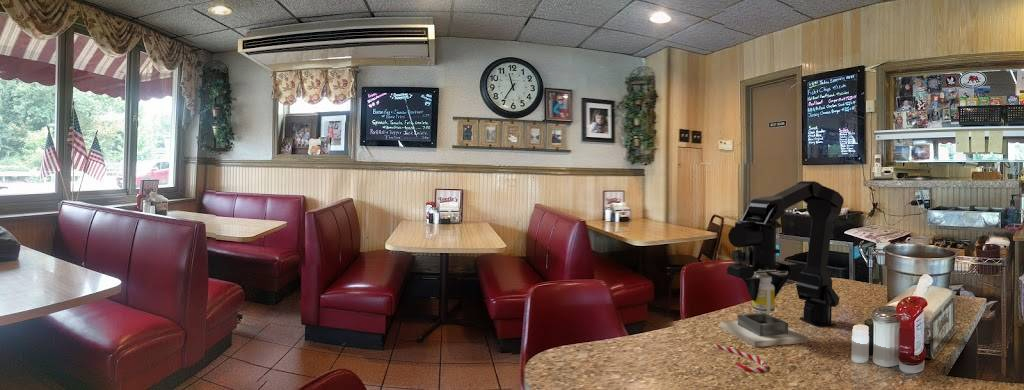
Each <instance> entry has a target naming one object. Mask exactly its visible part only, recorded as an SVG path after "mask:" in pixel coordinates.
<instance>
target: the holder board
mask: <svg viewBox="0 0 1024 390" xmlns="http://www.w3.org/2000/svg"><path fill="white" fill-rule="evenodd" d="M719 328H721V330H724V331H725V332H727V333H729V334H731V335H732V336H734V337H736V338H738V339H740V340H741V341H743V342H745V343H747V344H749V345H750V346H752V347H754V348H759V347H770V346H780V345H782V346H784V345H792V344H802V343H803V344H804V343H809V336H808V335H805V334H803V333H801V332H798V331H796V330H794V329H792V328H789V322H787V321H784V320H782V319H779V318H777V317H775V316H773V315H771V314H770V313H760V312H755V313H741V314H737V320H735V321H734V320H733V321H721V322H719Z"/></svg>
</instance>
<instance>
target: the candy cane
mask: <svg viewBox="0 0 1024 390" xmlns="http://www.w3.org/2000/svg"><path fill="white" fill-rule="evenodd" d="M712 348H714V349H717V350H719V351H720V350H721V351H724V352H728V353H729V354H730V353H731V354H734V355H735V356H737V355H738V356H741V357H743V358H745V359H749V360H751V361H753V362H756V363H757V364H759V365H760V367H751V366H746V365H743V364H741V363H736V364H735V367H736V368H738V369H739V370H742V371H745V372H748V373H755V374H762V373H766V372H767V371H768V370H769V365H768V364H767V362H765V361H764V360H763V359H761V358H759V357H758V356H754V355H753V354H750V353H746V352H744V351H741V350H737V349H735V348H731V347H728V346H724V345H720V344H716V343H713V344H712Z"/></svg>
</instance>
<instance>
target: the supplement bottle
mask: <svg viewBox="0 0 1024 390" xmlns="http://www.w3.org/2000/svg"><path fill="white" fill-rule="evenodd" d="M757 278H760V284H759V289H758V295H757V298H756V301H753V300H752V299H751V308H752V310H753V311H755V313H766V314H773V313H774V312H775V305H776V304H775V298H776V297H775V287H774V285H773V284H771V282H772V277H771V276H769V275H767V274H763V273H757Z"/></svg>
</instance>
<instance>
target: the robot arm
mask: <svg viewBox="0 0 1024 390" xmlns="http://www.w3.org/2000/svg"><path fill="white" fill-rule="evenodd" d="M800 202H804V203H805V204H806V211H807V214H808V215H809V217H810V219H811V225H810V233H809V241H808V242H809V243H808V250H807V259H806V267H805V268H804V269H803V270H801V267H800V265H799V264H798V263H794V262H791V261H788V260H787V261H786V260H778V261H777V254H781V253H780V252H781V251H780V249H778V248H777V229H781V228H782V224H781V223H779V221H778V220H779V219H780V218H782V217H783V216H785V213H786V210H787V209H789V208H790V207H792V206H795V205H797V204H799V203H800ZM844 204H845V203H844V197H843V196H842V195H841V193H840V192H838V191H836V190H835V189H832V188H829V187H827V186H824V185H822V184H821V183H820V182H817V181H815V180H801V181H799V182H797V183H796V184H794V185H792V186H791V187H788V188H786V189H784V190H783V191H780V192H778V193H776V194H774V195H769V196H761V197H758V198H757V197H756V198H753V199H752V200H750V201H749V204H748V206H747V207H746V209H745V211H744V213H743V214H742V217H741V219H740V220H739V221H735V223H734V226H732V228H730V230H729V232H728V235H727V236H728V237H727V238H728V241H729V243H730V244H731V245H732V246H733V247H734V248H747V251H745V252H743V251H742V250H741V249H734V250H732V252H731V258H732V261H733V262H734V263H730V264H728V265H727V267H726V268H727V269H726V274H727V275H730V276H732V277H734V278H735V277H736V278H738V279H742V280H743V282H744V283H745V286H746V288H747V291H748V293H749V297H750V298H751V301H752V300H753V301H756V298H757V295H758V289H759V284H760V278H757V275H758V274H763V273H766V275H769V276H771V277H772V282H771V284H773V285H774V287H775V298H776V297H777V296H778V294H779V293H780V291H781V289H782V288H783V287H784V285H785V284H786V283H787V281H788V280H789V279H792V276H796V282H795V286H796V292H797V296H798V299H799V300H802V301H804V306H803V316H802V317H799V320H801V321H804V322H806V323H809V324H810V325H813V326H815V327H825V326H826V327H827V326H836V325H837V323H836V322H834V321H832V308H836V307H837V306H838V305H839V303H840V296H839V295H838V294H837V292H836V291H835V290H834V289H833V279H832V277H831V275H830V274H829V272H828V261H829V255H830V245H831V237H832V229H833V222H834V221H835V220H836V219H837V218H838V217H839V215H840V214H841V212H842V209H843V208H842V207H843V206H844ZM735 262H737V263H735ZM788 274H789V275H788Z"/></svg>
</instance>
